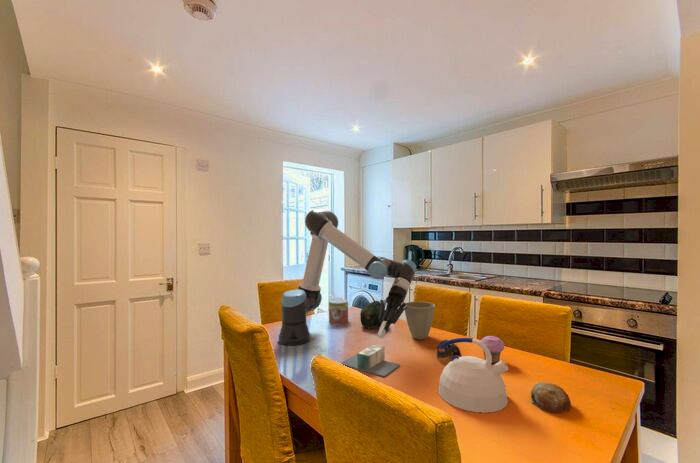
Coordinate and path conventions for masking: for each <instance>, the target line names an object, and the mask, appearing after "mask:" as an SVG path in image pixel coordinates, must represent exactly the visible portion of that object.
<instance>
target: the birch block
mask: <svg viewBox="0 0 700 463" xmlns="http://www.w3.org/2000/svg"><path fill="white" fill-rule="evenodd" d="M385 348H386V347H385V346H383V345H379V344H372V345H369V347H366V348H365V349H363V350H361V351H359V352H357V353H356V354H357V364H358V367H361V368H364V369H368V370H369V369H370V368H372V367H373V366H375V365H377V364H378V363H380V362H381V361H383V360H384V361H385V360H386V358H385V356H386V353H385V352H386V351H385Z"/></svg>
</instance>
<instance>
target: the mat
mask: <svg viewBox="0 0 700 463" xmlns="http://www.w3.org/2000/svg"><path fill="white" fill-rule="evenodd" d="M340 363H342V364H344V365H346V366H345V367H347V366H348V367H347V368H351V369H355V370H359V371H361V370H362V371H361V372H364V371H366V372H365V373H368V372H369V374H371V373H372V374H371V375H374V374H375V376H379V377H382V378H386V377H387V376H388V375H390V374H391V373H393V372H394V371H395V370H396V369H399V367H400V366H401V364H399V363H396V362H391V361H388V360H385V359H384V360H383V361H381V362H380V363H378V364H377V365H375V366H373V367H372V368H370V369H369V370H368V369H364V368H361V367H358V364H357V353H356V354H355V355H353V356H351V357H348V358H347V359H345V360H343V361H340ZM344 365H343V366H344Z"/></svg>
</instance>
